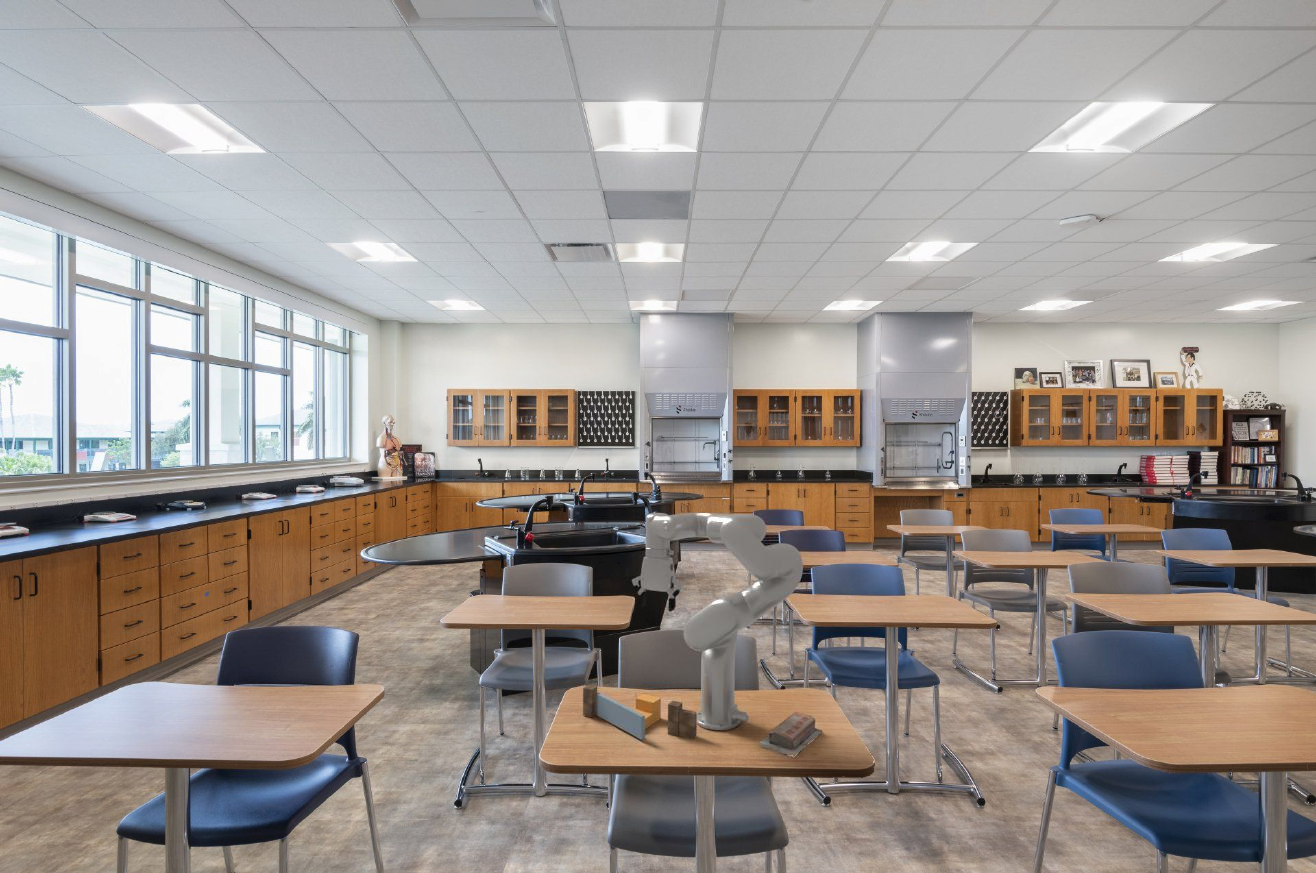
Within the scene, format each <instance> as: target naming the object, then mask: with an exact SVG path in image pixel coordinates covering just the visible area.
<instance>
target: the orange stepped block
mask: <svg viewBox="0 0 1316 873" xmlns="http://www.w3.org/2000/svg"><path fill="white" fill-rule="evenodd" d="M661 700H662V699H661V697H658V696H653V695H649V694H647V693H646V694H645V693H642V694H641V695H639V696H637V697H635V708H634V710H635V711H637V712H639V713H641V714H643V715H645V730H646V729H647V728H649V727H650V726H651V725H653V724H654V723H656V722H658V720H660V719H661V716H662V715H661V712H662V711H661V710H662V709H661V707H662V706H661V705H662V701H661ZM648 726H649V727H648Z"/></svg>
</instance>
